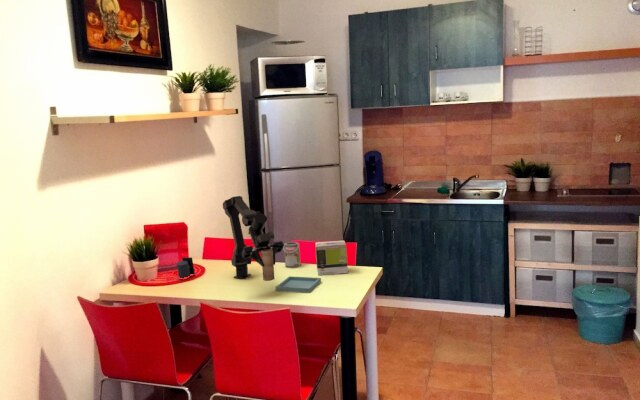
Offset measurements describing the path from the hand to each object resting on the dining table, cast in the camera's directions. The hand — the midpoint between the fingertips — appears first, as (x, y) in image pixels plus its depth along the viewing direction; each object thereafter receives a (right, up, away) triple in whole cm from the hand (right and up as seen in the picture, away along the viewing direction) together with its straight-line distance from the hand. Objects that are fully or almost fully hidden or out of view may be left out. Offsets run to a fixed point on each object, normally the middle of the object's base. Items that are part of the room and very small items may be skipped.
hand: (269, 265), depth 240 cm
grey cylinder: (+8, -6, +47) cm, 48 cm away
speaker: (-45, -11, +36) cm, 58 cm away
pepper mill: (0, -6, +2) cm, 7 cm away
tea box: (+28, -7, +33) cm, 44 cm away
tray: (+13, -11, +12) cm, 21 cm away
